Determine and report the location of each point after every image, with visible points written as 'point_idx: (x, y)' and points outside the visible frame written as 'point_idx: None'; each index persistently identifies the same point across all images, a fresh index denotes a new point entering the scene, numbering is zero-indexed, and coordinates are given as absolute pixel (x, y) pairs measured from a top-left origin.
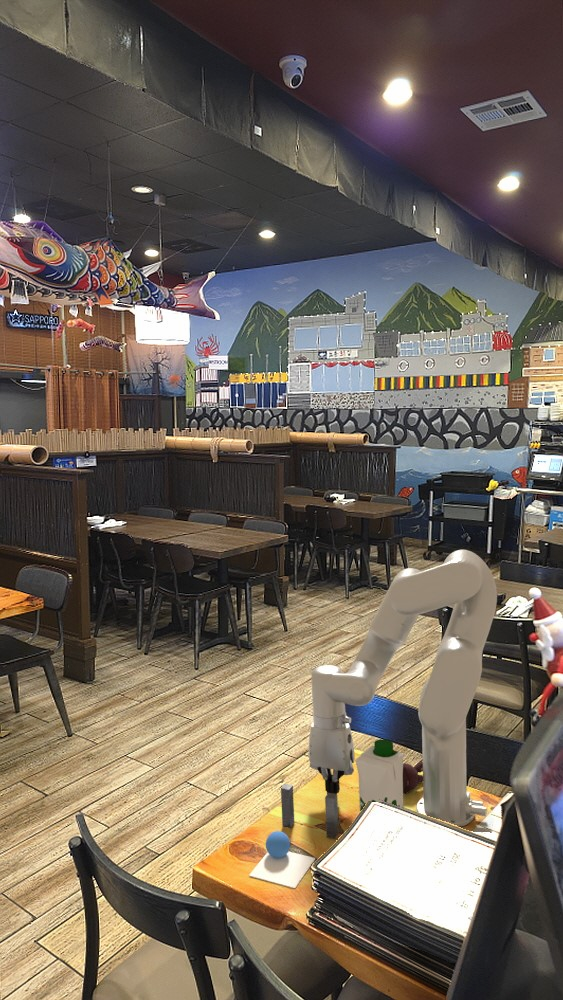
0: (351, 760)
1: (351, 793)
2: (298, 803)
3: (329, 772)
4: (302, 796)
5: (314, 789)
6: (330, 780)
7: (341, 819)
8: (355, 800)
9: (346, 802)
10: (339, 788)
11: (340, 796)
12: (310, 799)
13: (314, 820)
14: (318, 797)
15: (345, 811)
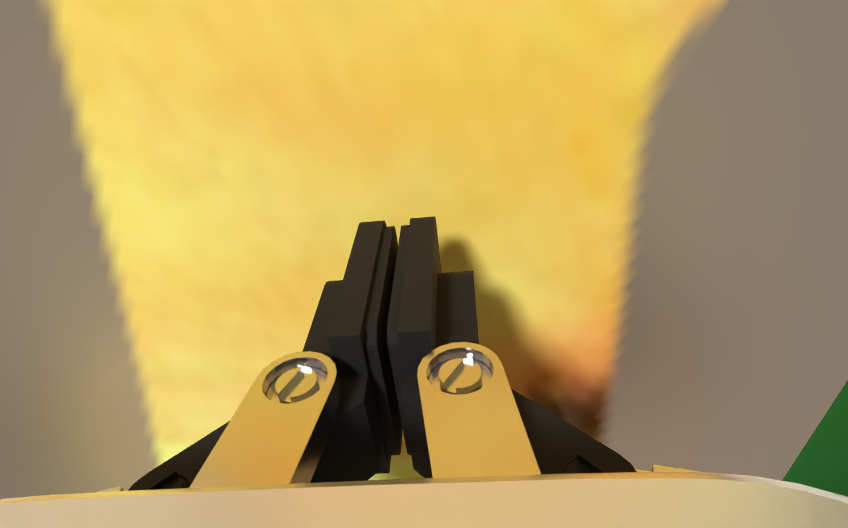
0: (841, 506)
1: (521, 16)
2: (187, 371)
3: (327, 444)
4: (133, 283)
5: (124, 132)
6: (395, 439)
7: (582, 410)
8: (610, 135)
9: (535, 205)
10: (472, 278)
11: (434, 134)
12: (222, 294)
13: (415, 473)
14: (258, 240)
15: (576, 323)
